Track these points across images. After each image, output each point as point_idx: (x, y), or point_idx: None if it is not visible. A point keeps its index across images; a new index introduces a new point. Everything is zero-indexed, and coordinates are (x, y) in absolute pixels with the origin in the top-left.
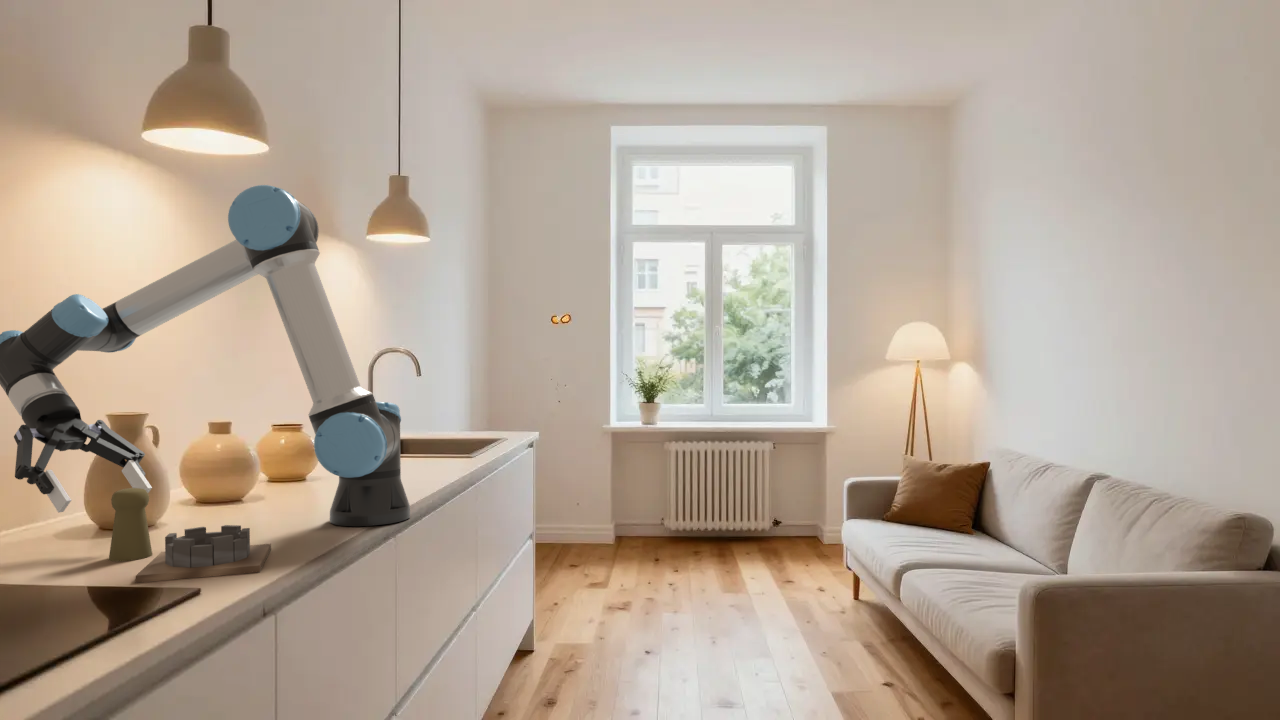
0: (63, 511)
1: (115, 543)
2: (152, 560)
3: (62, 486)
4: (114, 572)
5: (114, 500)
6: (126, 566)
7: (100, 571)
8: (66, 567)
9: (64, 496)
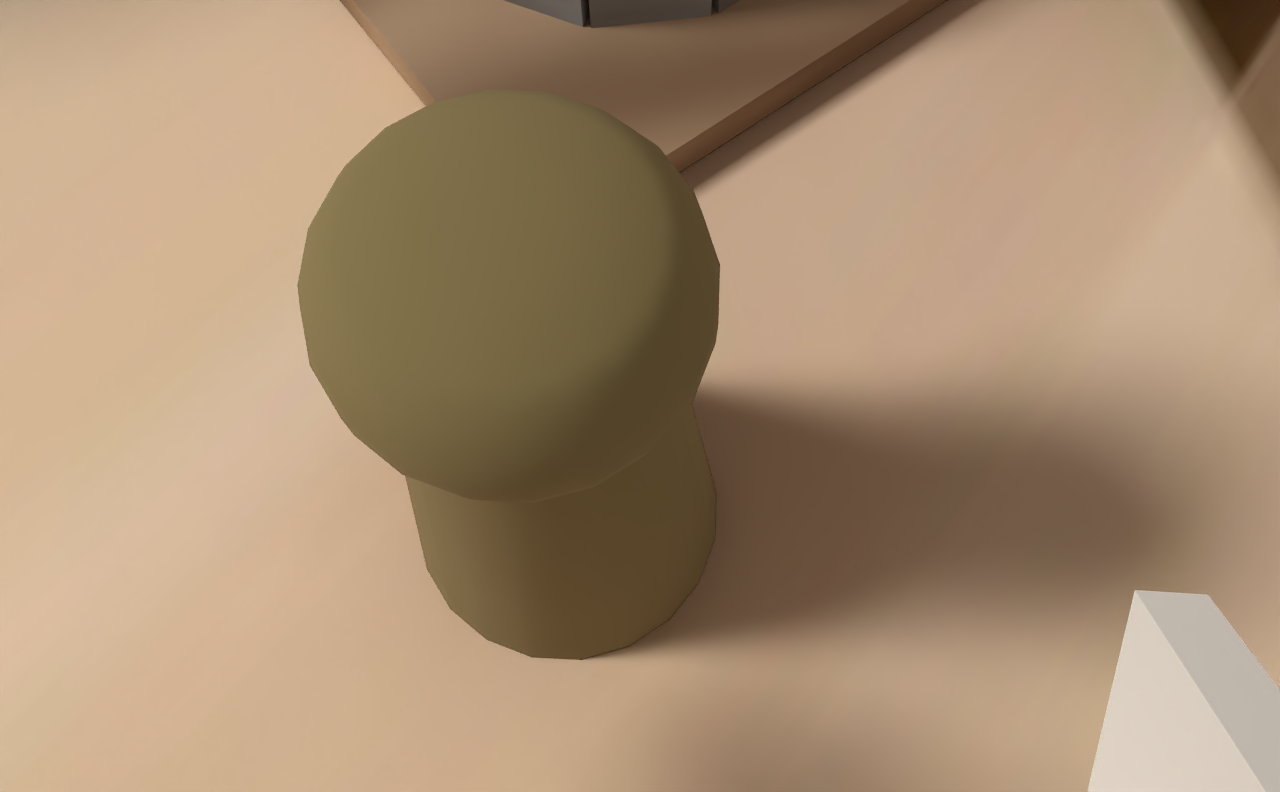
0: (1090, 786)
1: (703, 467)
2: (772, 85)
3: (1263, 782)
4: (950, 219)
5: (717, 306)
6: (804, 284)
7: (968, 326)
8: (985, 687)
9: (1236, 644)
